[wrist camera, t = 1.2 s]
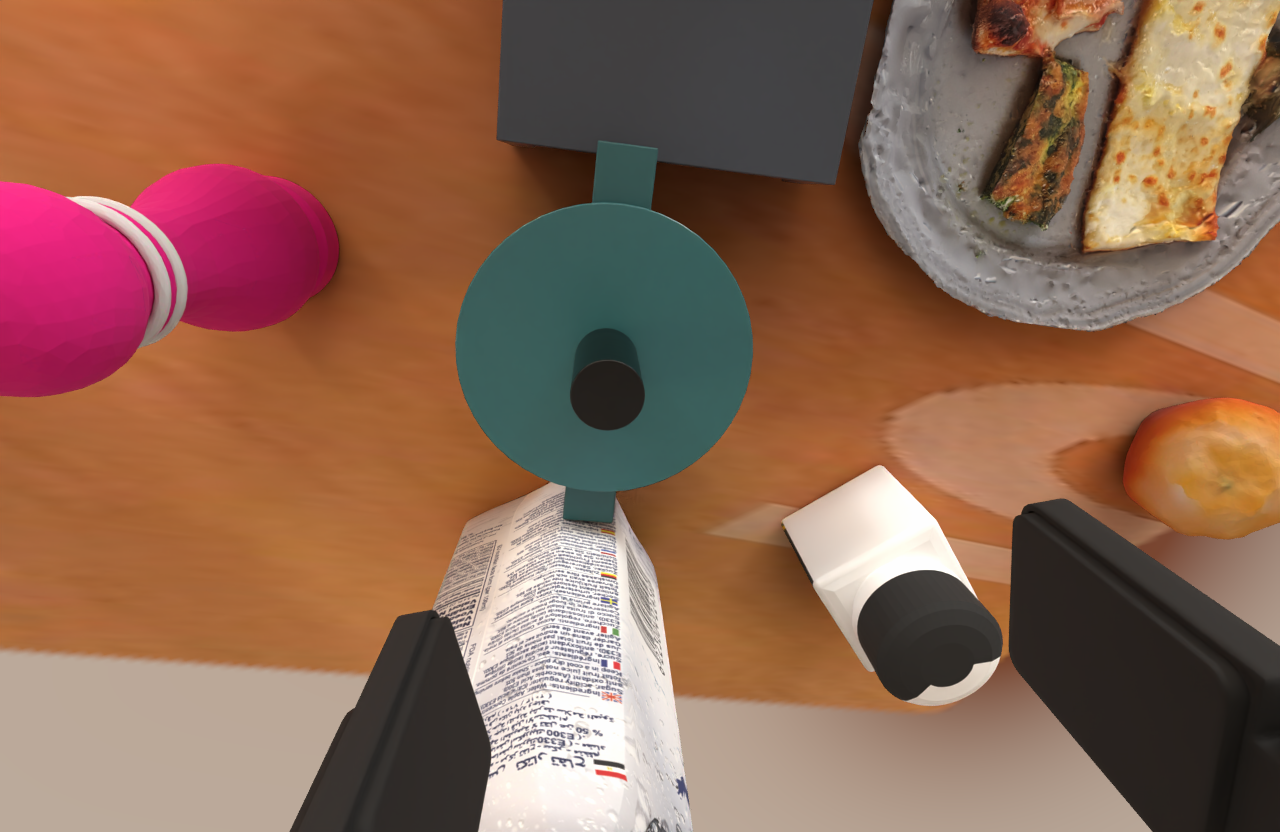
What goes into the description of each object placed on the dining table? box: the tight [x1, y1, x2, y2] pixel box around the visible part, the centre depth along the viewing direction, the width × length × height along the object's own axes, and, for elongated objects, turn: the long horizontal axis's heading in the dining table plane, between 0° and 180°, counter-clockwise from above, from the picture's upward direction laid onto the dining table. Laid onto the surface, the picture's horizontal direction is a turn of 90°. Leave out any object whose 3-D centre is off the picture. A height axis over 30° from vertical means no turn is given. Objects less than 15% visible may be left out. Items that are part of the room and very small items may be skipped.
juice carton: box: [432, 482, 693, 832], centre depth 28 cm, size 9×10×27 cm
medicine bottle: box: [781, 465, 1003, 706], centre depth 36 cm, size 7×7×12 cm
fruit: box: [1123, 398, 1280, 539], centre depth 38 cm, size 8×8×8 cm
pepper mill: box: [0, 164, 339, 397], centre depth 24 cm, size 7×7×20 cm
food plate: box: [858, 0, 1280, 332], centre depth 31 cm, size 25×23×4 cm
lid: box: [455, 202, 753, 492], centre depth 26 cm, size 12×12×6 cm
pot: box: [563, 140, 658, 523], centre depth 32 cm, size 11×17×8 cm
